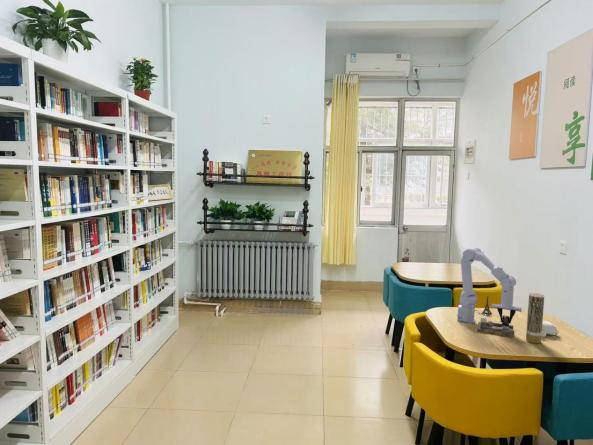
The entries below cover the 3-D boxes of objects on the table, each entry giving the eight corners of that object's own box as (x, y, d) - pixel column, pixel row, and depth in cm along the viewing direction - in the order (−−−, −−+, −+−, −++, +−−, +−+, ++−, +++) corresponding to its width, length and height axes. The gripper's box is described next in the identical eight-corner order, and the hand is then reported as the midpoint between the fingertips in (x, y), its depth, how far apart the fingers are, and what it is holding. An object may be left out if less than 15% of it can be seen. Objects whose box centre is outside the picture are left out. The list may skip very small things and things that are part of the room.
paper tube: (540, 340, 211) (543, 294, 209) (541, 344, 205) (545, 297, 203) (525, 338, 214) (528, 292, 212) (526, 342, 208) (529, 295, 205)
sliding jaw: (501, 330, 219) (502, 317, 219) (501, 326, 226) (502, 314, 226) (508, 331, 218) (509, 319, 217) (508, 327, 225) (509, 314, 224)
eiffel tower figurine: (472, 310, 263) (473, 290, 262) (486, 310, 264) (488, 290, 263) (484, 318, 248) (486, 297, 247) (500, 318, 249) (501, 297, 248)
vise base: (477, 331, 222) (477, 322, 222) (478, 324, 235) (478, 315, 234) (513, 337, 214) (514, 328, 214) (512, 329, 227) (513, 320, 226)
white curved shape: (545, 336, 226) (522, 327, 224) (551, 322, 225) (528, 313, 223) (556, 342, 217) (532, 332, 215) (562, 328, 217) (539, 318, 215)
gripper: (492, 298, 220) (491, 322, 221) (522, 302, 214) (520, 326, 215) (492, 295, 227) (491, 318, 228) (521, 299, 220) (520, 322, 221)
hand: (505, 322), depth 222 cm, fingers closed on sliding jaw, 3 cm apart
